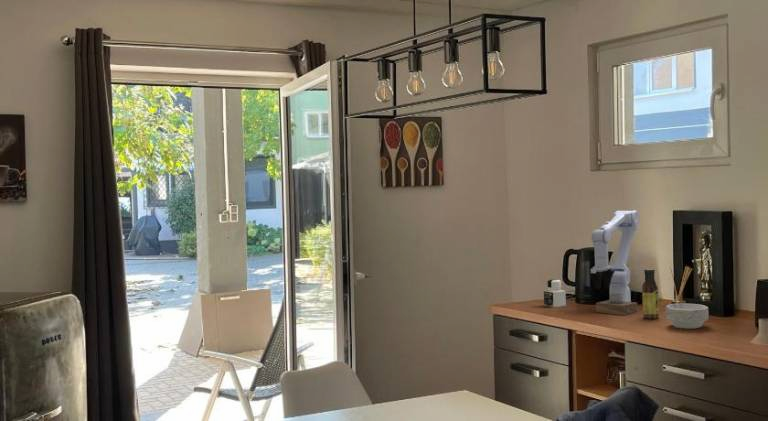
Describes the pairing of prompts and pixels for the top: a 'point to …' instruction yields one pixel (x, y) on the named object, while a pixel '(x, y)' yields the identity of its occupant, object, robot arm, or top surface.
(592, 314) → the top surface
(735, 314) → the top surface
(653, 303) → the sauce bottle
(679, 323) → the grey stone bowl
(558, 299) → the medicine bottle
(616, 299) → the rail bracket
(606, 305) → the brown wooden block
